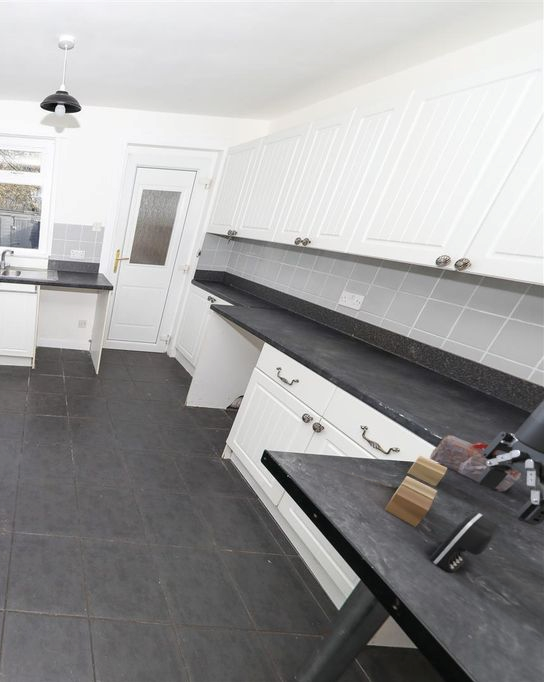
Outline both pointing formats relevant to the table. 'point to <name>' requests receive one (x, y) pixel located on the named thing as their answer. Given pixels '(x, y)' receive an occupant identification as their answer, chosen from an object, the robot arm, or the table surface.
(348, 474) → the table surface
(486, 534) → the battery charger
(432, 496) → the block
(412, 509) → the block
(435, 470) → the block
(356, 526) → the table surface
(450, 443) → the food item
